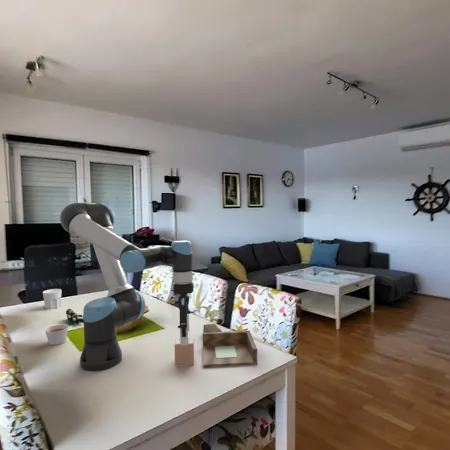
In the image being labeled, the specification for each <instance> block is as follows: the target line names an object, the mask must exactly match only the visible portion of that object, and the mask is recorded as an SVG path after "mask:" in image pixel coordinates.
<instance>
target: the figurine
mask: <svg viewBox="0 0 450 450" xmlns="http://www.w3.org/2000/svg"><path fill="white" fill-rule="evenodd" d="M65 314H66V318H67V322H68V327H69V326H75V325H78V324H84V322H83V314H80V313H77V312H74V310H73V309H71V308H67V310H65Z"/></svg>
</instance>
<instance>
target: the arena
mask: <svg viewBox="0 0 450 450" xmlns="http://www.w3.org/2000/svg"><path fill="white" fill-rule="evenodd" d="M222 346H234V347H235V351H236V355H237V357H235V358H216V352H215V347H222ZM202 362H203V363H202V364H203V365H202V367H203V368H217V367H219V368H221V367H235V366H236V367H238V366H239V367H240V366H254V365H255V366H256V365H258V348H257V344H256V343H255V341H254V337H253V335H252V332H251V331H250V330H236V331H234V330H233V331H231V330H230V331H221V332H208V333H203V332H202Z"/></svg>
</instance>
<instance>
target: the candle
mask: <svg viewBox="0 0 450 450" xmlns="http://www.w3.org/2000/svg"><path fill="white" fill-rule="evenodd" d="M44 331H45V334H46V338H47V342H48V345H51V346H58V345H61V344H64V343H65V342H66V341H67V337H68V331H69V324H55V325H51V326H49V327H47V328H46V329H45V330H44Z"/></svg>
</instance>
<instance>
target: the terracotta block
mask: <svg viewBox="0 0 450 450" xmlns="http://www.w3.org/2000/svg"><path fill="white" fill-rule="evenodd" d="M194 340H195V339H194V337H191V338H190V337H188V345H182V346H181V344H180V338H175V340H174V366H175V367H178V366H180V367H181V366H194V364H195V347H194V346H195V341H194Z"/></svg>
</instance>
